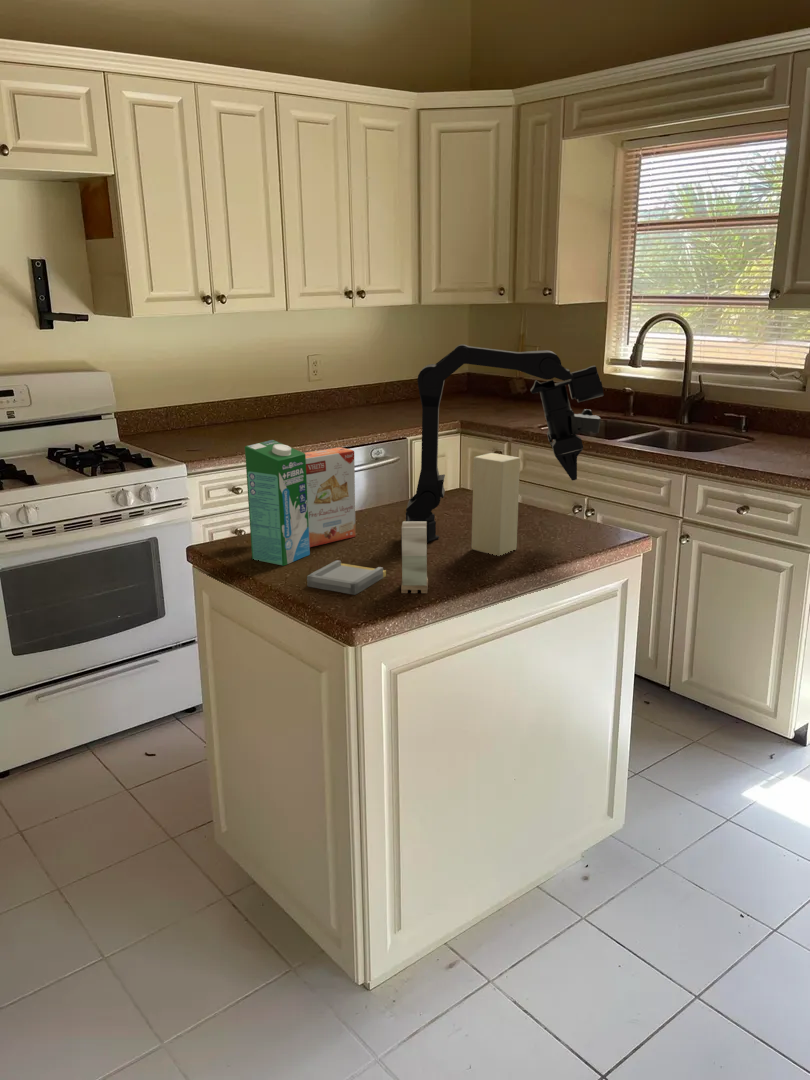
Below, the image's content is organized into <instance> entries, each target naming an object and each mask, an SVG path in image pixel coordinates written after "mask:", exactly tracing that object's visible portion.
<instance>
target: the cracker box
mask: <svg viewBox="0 0 810 1080" xmlns="http://www.w3.org/2000/svg"><path fill="white" fill-rule="evenodd" d="M304 453H305V456H306V478H307V501H308V523H309V545H310V548H313V547H318V546H321V545H326V544H330V543H334V542H338V541H342V540H346V539H351V538H355V537H356V484H355V483H356V481H355V476H356V475H355V469H356V468H355V467H356V466H355V450H353V449H350V448H344V447H341V446H340V447H333V448H332V447H331V448H328V449H321V450H313V451H308V452H304Z"/></svg>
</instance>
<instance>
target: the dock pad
mask: <svg viewBox="0 0 810 1080" xmlns="http://www.w3.org/2000/svg"><path fill="white" fill-rule="evenodd" d="M386 577H387V570H386V569H385V570H384V567H381V566H378V567H376V568H373V567H366V566H361V565H354V564H349V563H342V561H341V560H338V559H336V560H334V561H332V562H330V563H329V564H327V565H325V566H322V567H321V568H319V569H317V570H315V571H313V572H311V573H309V574H308V575H306V578H307V579H306V581H307V582H306V583H307V587H309V588H314V589H321V590H326V591H332V592H337V593H342V594H348V595H353V596H356V595H358V594H359V593H361V592H363V591H365V590H366V589H367V588H369V587H371V586H373V585H374V584H376V583H377V582H379V581H380V580H382V579H384V578H386Z"/></svg>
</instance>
